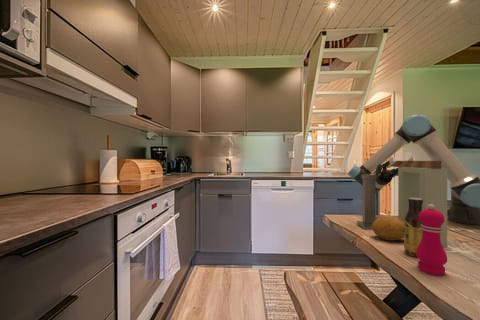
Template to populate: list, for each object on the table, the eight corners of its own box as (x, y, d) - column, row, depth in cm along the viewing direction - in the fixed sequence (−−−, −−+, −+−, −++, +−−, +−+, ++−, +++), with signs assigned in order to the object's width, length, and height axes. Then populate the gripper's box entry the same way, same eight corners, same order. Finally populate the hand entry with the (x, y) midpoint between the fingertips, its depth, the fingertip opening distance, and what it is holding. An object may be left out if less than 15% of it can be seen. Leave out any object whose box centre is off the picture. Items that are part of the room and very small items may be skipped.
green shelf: (398, 231, 105) (398, 167, 105) (416, 232, 105) (416, 167, 105) (425, 245, 88) (425, 168, 89) (447, 246, 88) (447, 168, 88)
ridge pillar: (357, 224, 117) (357, 174, 117) (373, 225, 116) (373, 174, 116) (364, 229, 109) (364, 175, 109) (381, 229, 108) (381, 175, 108)
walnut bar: (390, 166, 116) (390, 160, 116) (397, 166, 116) (397, 160, 116) (433, 168, 88) (433, 160, 88) (441, 168, 88) (441, 160, 88)
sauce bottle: (404, 249, 84) (404, 196, 85) (426, 254, 81) (426, 197, 81) (403, 255, 79) (403, 198, 79) (426, 260, 75) (426, 200, 76)
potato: (410, 247, 87) (410, 222, 87) (370, 239, 95) (370, 217, 95) (409, 240, 95) (409, 217, 95) (372, 234, 103) (373, 213, 103)
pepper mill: (453, 277, 64) (453, 206, 64) (424, 275, 66) (424, 205, 66) (437, 266, 71) (437, 202, 71) (411, 264, 73) (411, 201, 73)
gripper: (403, 185, 124) (430, 166, 105) (363, 185, 126) (382, 165, 107) (399, 173, 128) (424, 152, 109) (360, 173, 130) (378, 152, 110)
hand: (404, 158), depth 108 cm, fingers open, 8 cm apart
